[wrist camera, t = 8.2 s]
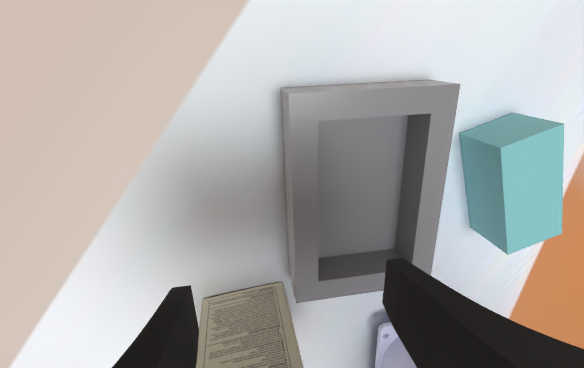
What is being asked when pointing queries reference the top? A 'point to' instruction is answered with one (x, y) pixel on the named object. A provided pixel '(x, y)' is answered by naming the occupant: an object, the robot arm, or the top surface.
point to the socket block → (363, 180)
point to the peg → (514, 180)
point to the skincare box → (248, 330)
